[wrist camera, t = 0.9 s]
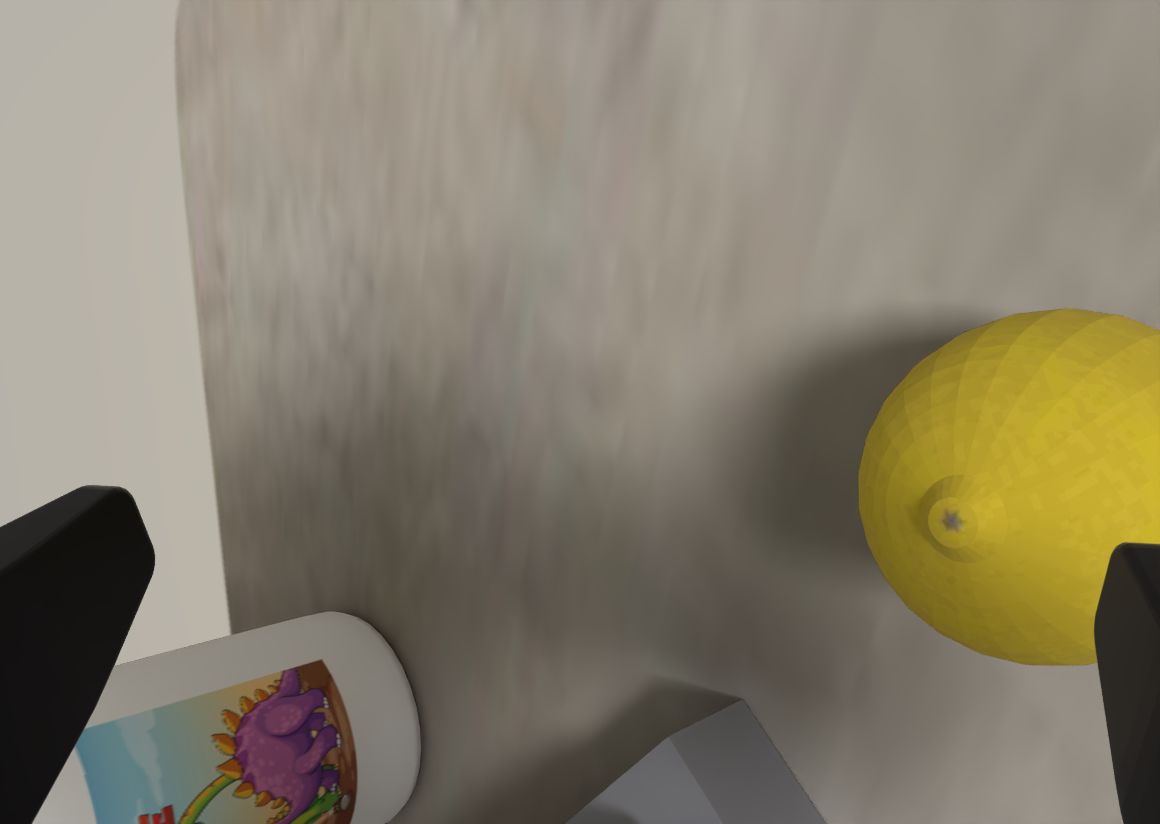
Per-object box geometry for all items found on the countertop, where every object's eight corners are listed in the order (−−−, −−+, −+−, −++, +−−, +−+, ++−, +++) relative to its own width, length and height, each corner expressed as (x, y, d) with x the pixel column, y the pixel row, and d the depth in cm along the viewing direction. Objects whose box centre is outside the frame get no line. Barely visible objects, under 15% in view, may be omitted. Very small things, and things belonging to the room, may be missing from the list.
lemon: (1390, 488, 17) (1304, 592, 11) (1107, 653, 20) (926, 800, 14) (1152, 242, 19) (975, 221, 13) (929, 427, 22) (707, 475, 16)
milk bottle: (291, 748, 41) (-402, 999, 27) (313, 571, 39) (-428, 739, 24) (411, 864, 36) (-355, 1249, 22) (444, 670, 34) (-381, 952, 20)
